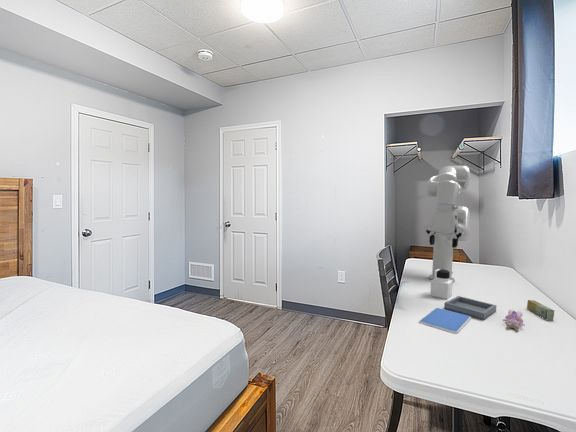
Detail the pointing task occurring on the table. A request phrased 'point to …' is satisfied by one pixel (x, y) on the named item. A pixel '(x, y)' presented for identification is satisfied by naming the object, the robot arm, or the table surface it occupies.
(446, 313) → the blue flat pad
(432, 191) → the robot arm
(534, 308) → the medication box
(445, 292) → the medicine bottle
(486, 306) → the tray
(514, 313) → the rabbit figure
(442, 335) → the table surface
